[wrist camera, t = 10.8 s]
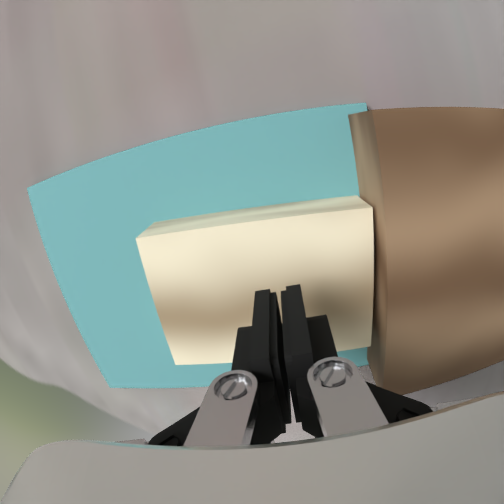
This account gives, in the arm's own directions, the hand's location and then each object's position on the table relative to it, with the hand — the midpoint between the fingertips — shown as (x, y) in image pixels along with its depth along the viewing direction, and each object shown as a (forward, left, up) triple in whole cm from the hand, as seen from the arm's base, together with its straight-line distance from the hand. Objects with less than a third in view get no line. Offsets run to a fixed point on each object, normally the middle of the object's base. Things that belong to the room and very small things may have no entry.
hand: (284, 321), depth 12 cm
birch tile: (0, -1, -5) cm, 5 cm away
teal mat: (0, -4, -5) cm, 7 cm away
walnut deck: (0, +16, -5) cm, 17 cm away
